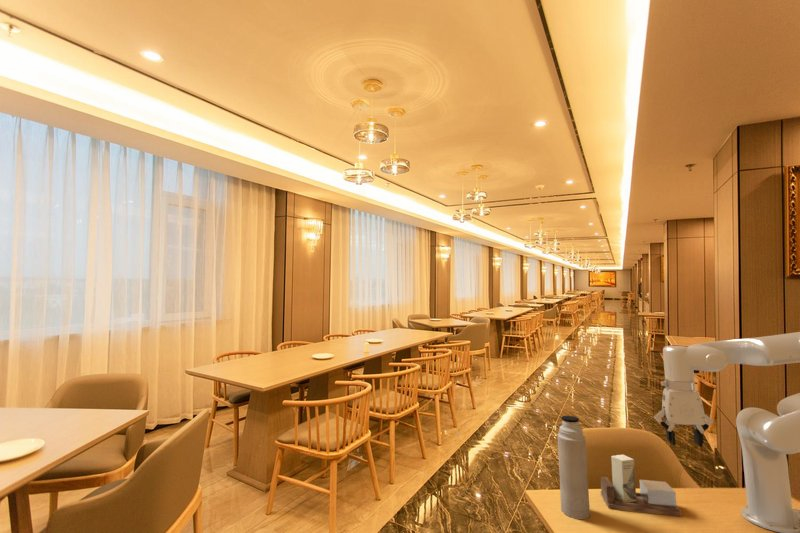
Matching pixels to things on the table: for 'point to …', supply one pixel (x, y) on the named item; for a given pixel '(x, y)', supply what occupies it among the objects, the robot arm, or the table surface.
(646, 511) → the clamp board
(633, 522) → the table surface
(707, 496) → the table surface
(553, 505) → the table surface
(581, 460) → the thermos bottle
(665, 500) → the block
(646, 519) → the table surface
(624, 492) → the box
